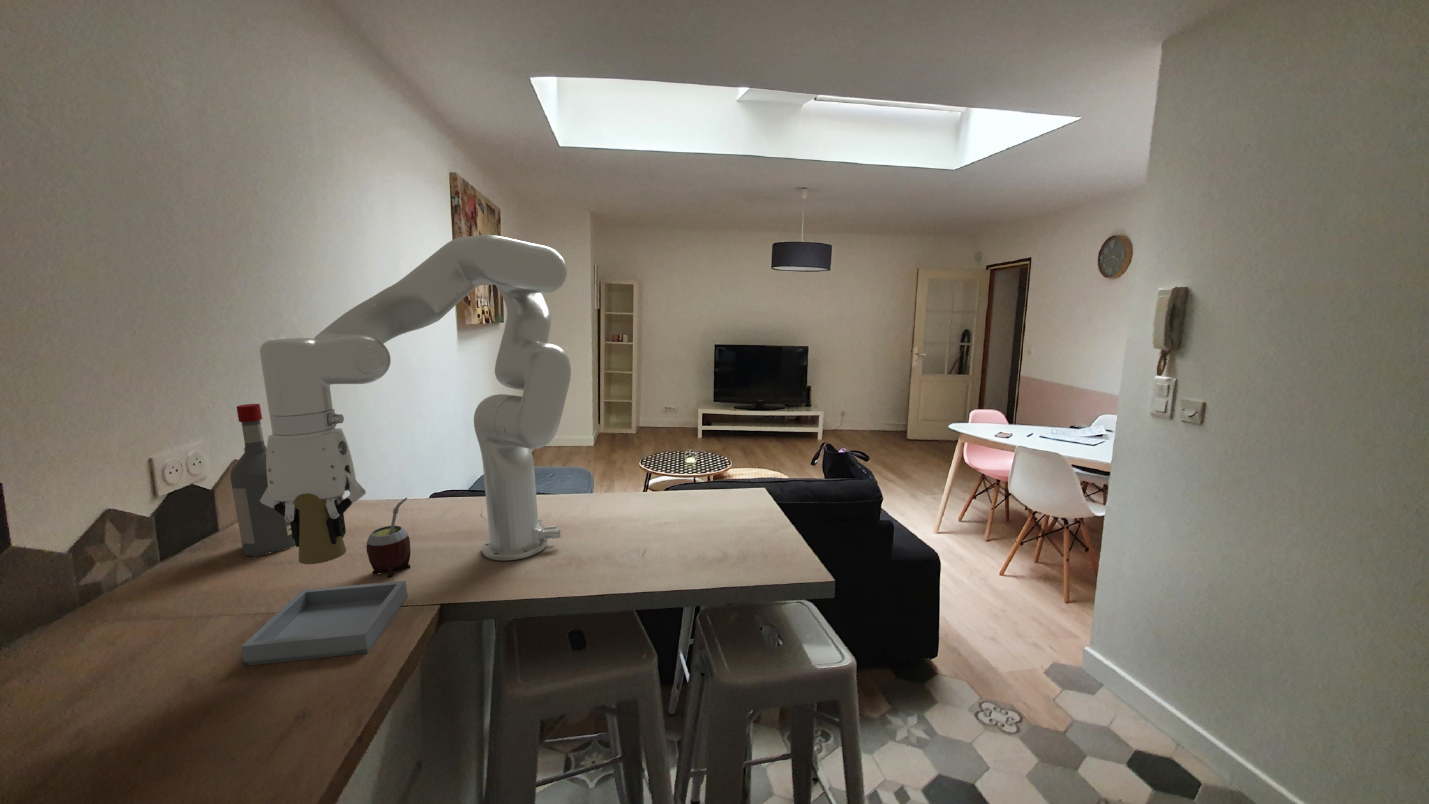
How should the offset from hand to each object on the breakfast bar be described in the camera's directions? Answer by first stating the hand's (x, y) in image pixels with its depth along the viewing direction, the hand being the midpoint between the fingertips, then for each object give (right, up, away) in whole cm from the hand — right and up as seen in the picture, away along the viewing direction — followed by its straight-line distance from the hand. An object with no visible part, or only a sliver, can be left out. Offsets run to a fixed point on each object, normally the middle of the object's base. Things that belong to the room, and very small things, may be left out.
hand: (320, 540), depth 87 cm
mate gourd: (-1, -11, +22) cm, 24 cm away
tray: (0, -14, +3) cm, 14 cm away
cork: (0, -3, 0) cm, 2 cm away
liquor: (-33, -9, +33) cm, 48 cm away
